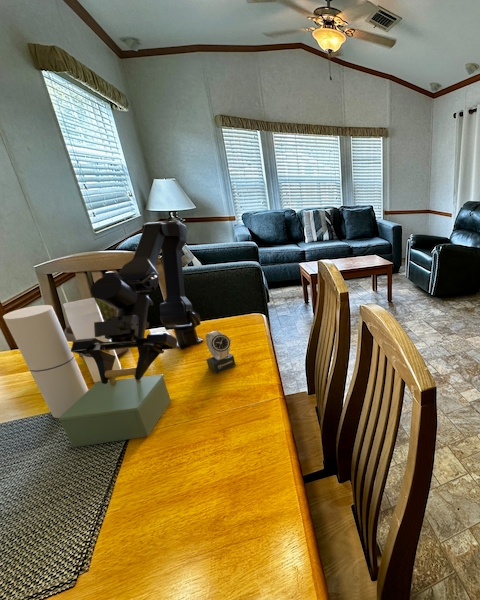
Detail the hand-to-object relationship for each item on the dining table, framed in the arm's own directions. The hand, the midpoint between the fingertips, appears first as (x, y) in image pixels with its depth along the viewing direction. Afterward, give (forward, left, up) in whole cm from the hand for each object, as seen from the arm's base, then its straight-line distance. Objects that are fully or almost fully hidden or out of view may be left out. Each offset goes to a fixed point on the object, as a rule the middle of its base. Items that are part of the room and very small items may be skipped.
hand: (121, 381), depth 72 cm
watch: (-3, +22, -9) cm, 24 cm away
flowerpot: (-38, +4, -9) cm, 39 cm away
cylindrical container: (-14, -8, -9) cm, 19 cm away
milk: (-25, +1, -9) cm, 27 cm away
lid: (+2, -2, -2) cm, 3 cm away
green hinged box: (+2, -2, -9) cm, 9 cm away
